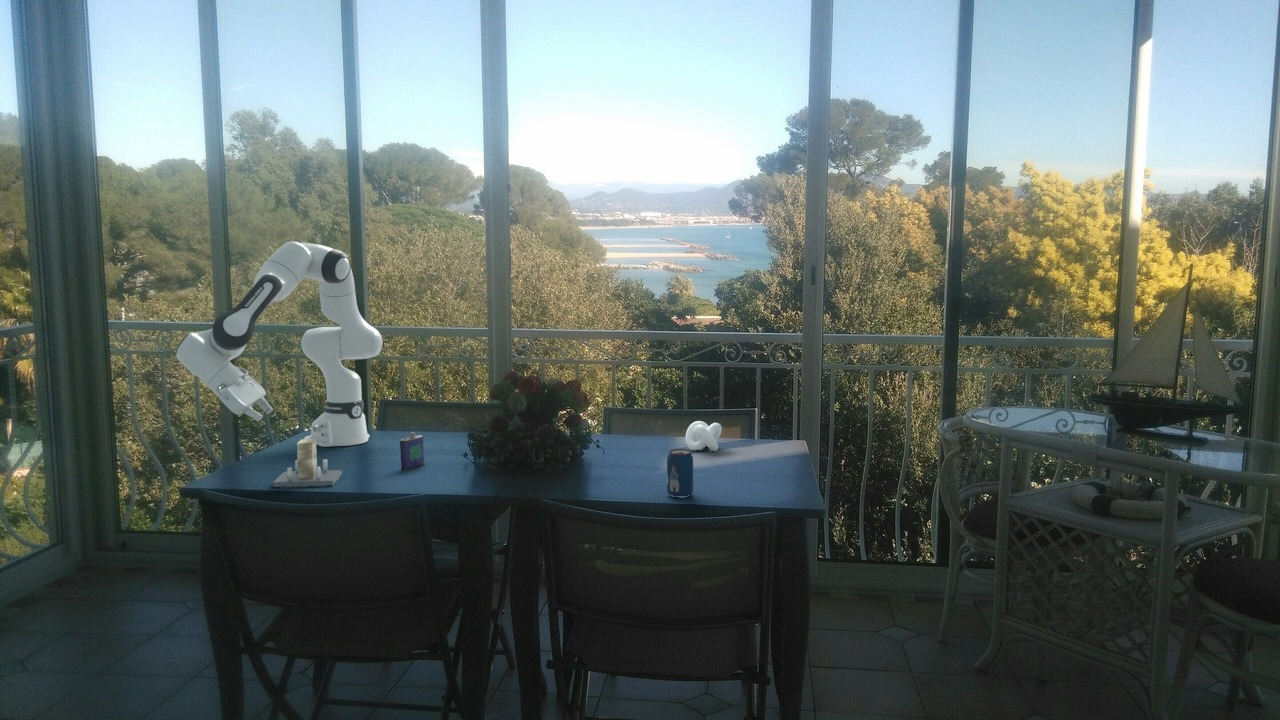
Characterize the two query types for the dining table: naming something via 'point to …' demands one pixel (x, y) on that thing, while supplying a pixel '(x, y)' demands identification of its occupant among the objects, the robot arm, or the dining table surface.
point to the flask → (412, 451)
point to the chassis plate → (320, 479)
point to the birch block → (307, 458)
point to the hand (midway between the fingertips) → (265, 415)
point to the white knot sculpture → (703, 436)
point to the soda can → (680, 472)
